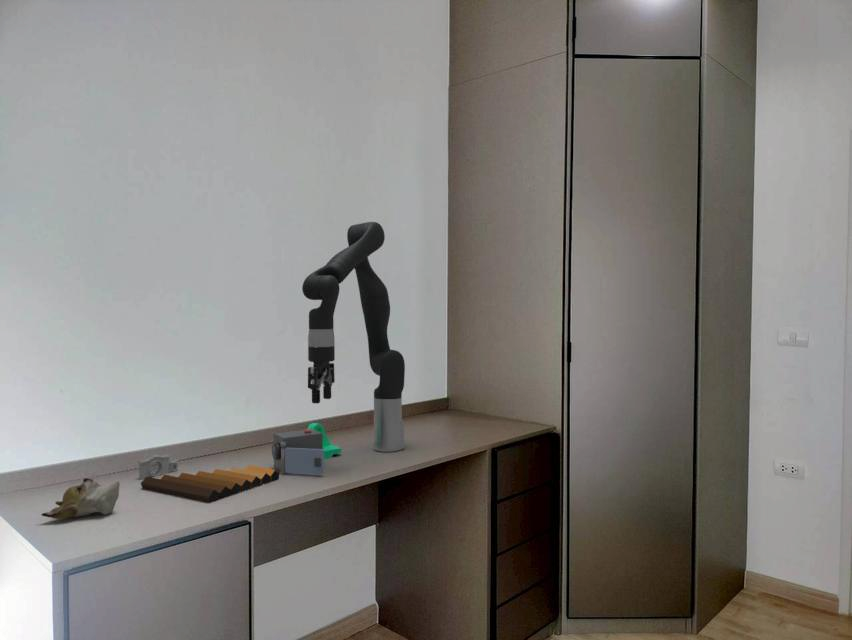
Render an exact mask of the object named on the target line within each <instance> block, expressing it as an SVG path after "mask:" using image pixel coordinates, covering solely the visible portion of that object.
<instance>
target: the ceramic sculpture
mask: <svg viewBox="0 0 852 640" xmlns="http://www.w3.org/2000/svg"><path fill="white" fill-rule="evenodd" d="M119 495H120V481H116V482H113V483H110V484H107V485H100V484H99V483H98V482H97V481H96V480H95V479H92V478H83V480H82V483H76V484H74V485H71V486H69V487H68V488H67V489H66V491H65V492H64V493H63V495H62V500H61V501H59V500H58V501H55V502H54V503H55V504H56V506H57V507H54V508H53V509H51V510H49V511H47V512H44V513H41V516H42V517H45V518H50V519H51V518H52V519H58V520H62V519H68V518H70V517H74V518H75V517H76V518H79V517H86V516H89V515H92V514H94V513H100V514H102V515H104V516H105V515H109V514H111V513H112V512H113V511H114V509H115V506H116V502H117V500H118V499H119Z"/></svg>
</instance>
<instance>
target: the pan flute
mask: <svg viewBox="0 0 852 640" xmlns="http://www.w3.org/2000/svg"><path fill="white" fill-rule="evenodd" d="M280 473H281V472H279V471H277V469H271V468H267V467H266V468H265V467H260V466H253V465H247V467H246V468H238V467H231V468H230V469H229V471H228V470H224V469H223V470H222V469H217V468H215V469H214V470H213V472H208V471H203V470H198V471H197V473H196V474H191V473H186V472H181V473H180V474H179V476H174V475H168V474H163V475H162V477H160V478H157V477H146V478H145V479H142V481H141V482H140V486H141V488H142V489H143V490H148V491H153V492H157V493H163V494H166V495H172V496H176V497H182V498H185V499H190V500H195V501H200V502H204V503H209V504H211V503H213V502H216V501H219V500H222V499H225V498H229V497H230V495H231V496H234V495H237V494H241V492H242V491H243V492H246V491H248V489H249V490H251V489H254V487H255V488H257V486H258V487H260V486H262V485H263V484H264V485H266V484H269V483H270V482H276V481H278V480H279V478H280ZM250 487H251V488H250ZM245 490H246V491H245Z"/></svg>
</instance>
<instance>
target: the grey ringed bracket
mask: <svg viewBox="0 0 852 640" xmlns="http://www.w3.org/2000/svg"><path fill="white" fill-rule="evenodd" d="M170 457H171V455H169V454H168V453H167V454H165V455H158V454H157V455H156V454H155V455H150V456H149V457H148V458H147V459H143V460H139V461H137V464H139V465H138V466H139V467H138V468H139V469H138V470H139V471H138V472H139V475H138V476H139V479H140V480H144V479H145V478H146V477H152V478H156V477H159V476H160V475H166V474H168V473H173V472H176V471H178V467H179V466H178V462H179V460H178V459H175V460H173V461H172V460H171V461H170Z"/></svg>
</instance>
